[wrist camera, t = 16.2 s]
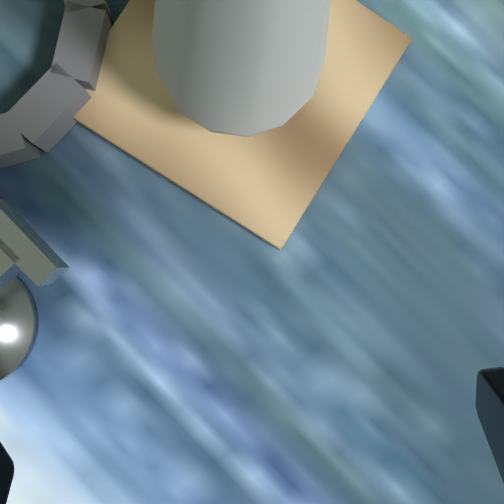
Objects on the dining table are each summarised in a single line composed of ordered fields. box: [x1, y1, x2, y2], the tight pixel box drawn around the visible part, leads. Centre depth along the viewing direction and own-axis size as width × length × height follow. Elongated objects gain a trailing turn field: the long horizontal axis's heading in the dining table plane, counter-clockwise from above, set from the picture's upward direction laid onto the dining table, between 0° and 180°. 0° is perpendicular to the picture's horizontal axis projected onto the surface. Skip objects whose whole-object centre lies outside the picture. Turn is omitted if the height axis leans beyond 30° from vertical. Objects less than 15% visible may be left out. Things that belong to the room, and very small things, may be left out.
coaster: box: [73, 0, 412, 250], centre depth 19 cm, size 10×10×1 cm
